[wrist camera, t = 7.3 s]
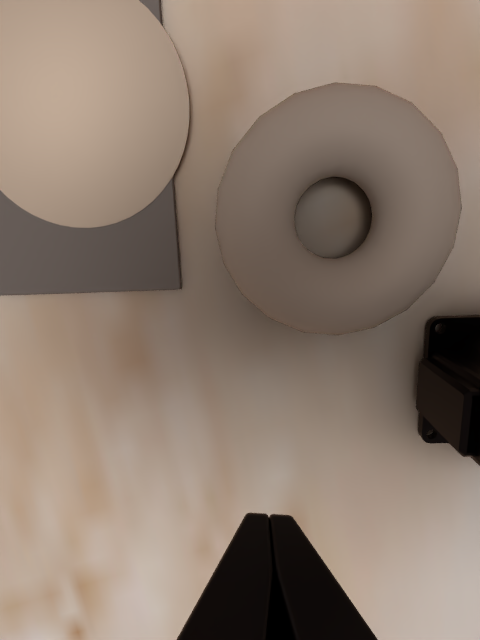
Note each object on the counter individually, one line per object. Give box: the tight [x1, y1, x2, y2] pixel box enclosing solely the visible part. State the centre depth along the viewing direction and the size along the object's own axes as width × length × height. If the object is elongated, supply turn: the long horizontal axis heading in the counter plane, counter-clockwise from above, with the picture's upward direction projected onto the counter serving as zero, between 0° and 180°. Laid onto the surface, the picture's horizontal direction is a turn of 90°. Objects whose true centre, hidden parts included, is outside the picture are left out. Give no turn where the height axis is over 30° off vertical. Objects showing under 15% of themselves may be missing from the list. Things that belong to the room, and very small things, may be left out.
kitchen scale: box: [0, 0, 189, 295], centre depth 16 cm, size 16×16×1 cm
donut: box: [215, 83, 462, 335], centre depth 15 cm, size 10×4×10 cm
